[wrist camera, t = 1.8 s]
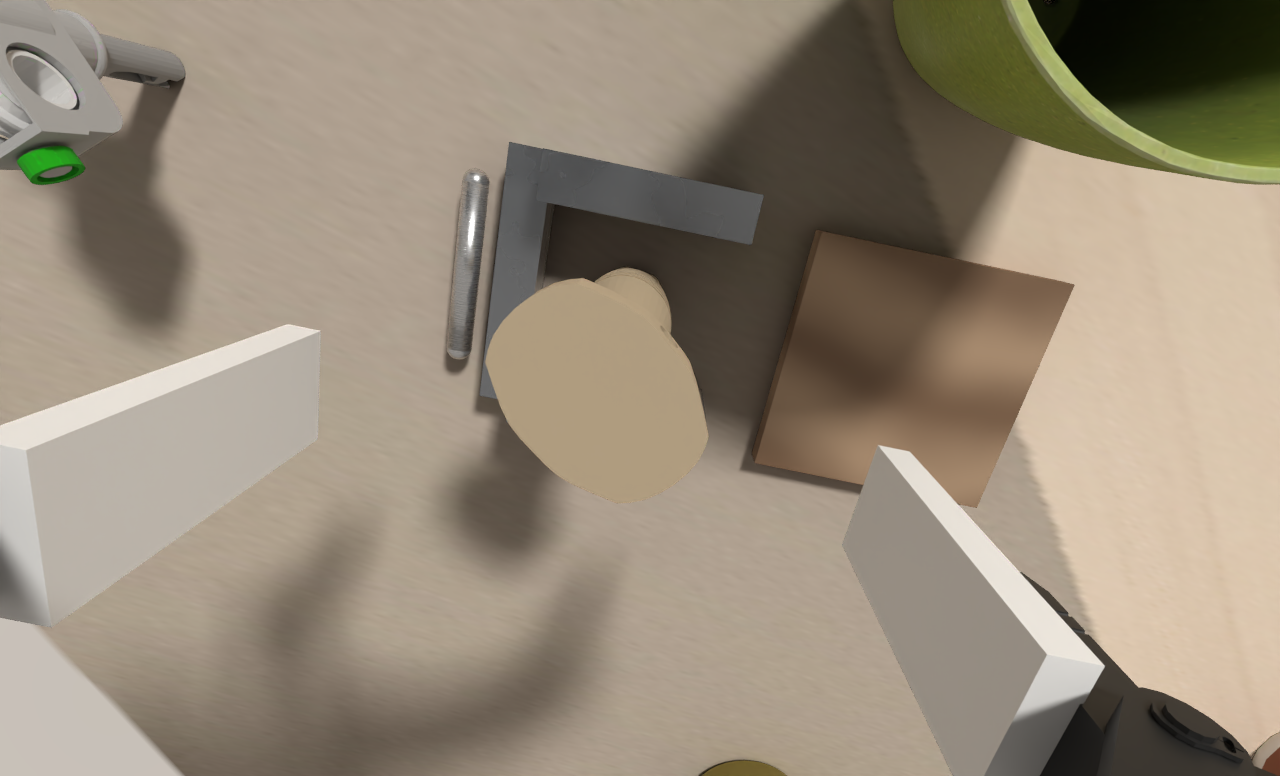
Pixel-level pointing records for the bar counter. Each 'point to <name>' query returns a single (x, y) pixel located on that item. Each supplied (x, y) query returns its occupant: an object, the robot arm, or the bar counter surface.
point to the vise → (576, 184)
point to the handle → (600, 385)
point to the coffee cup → (1269, 755)
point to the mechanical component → (63, 87)
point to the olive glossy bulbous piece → (744, 769)
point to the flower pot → (1113, 77)
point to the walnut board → (905, 363)
